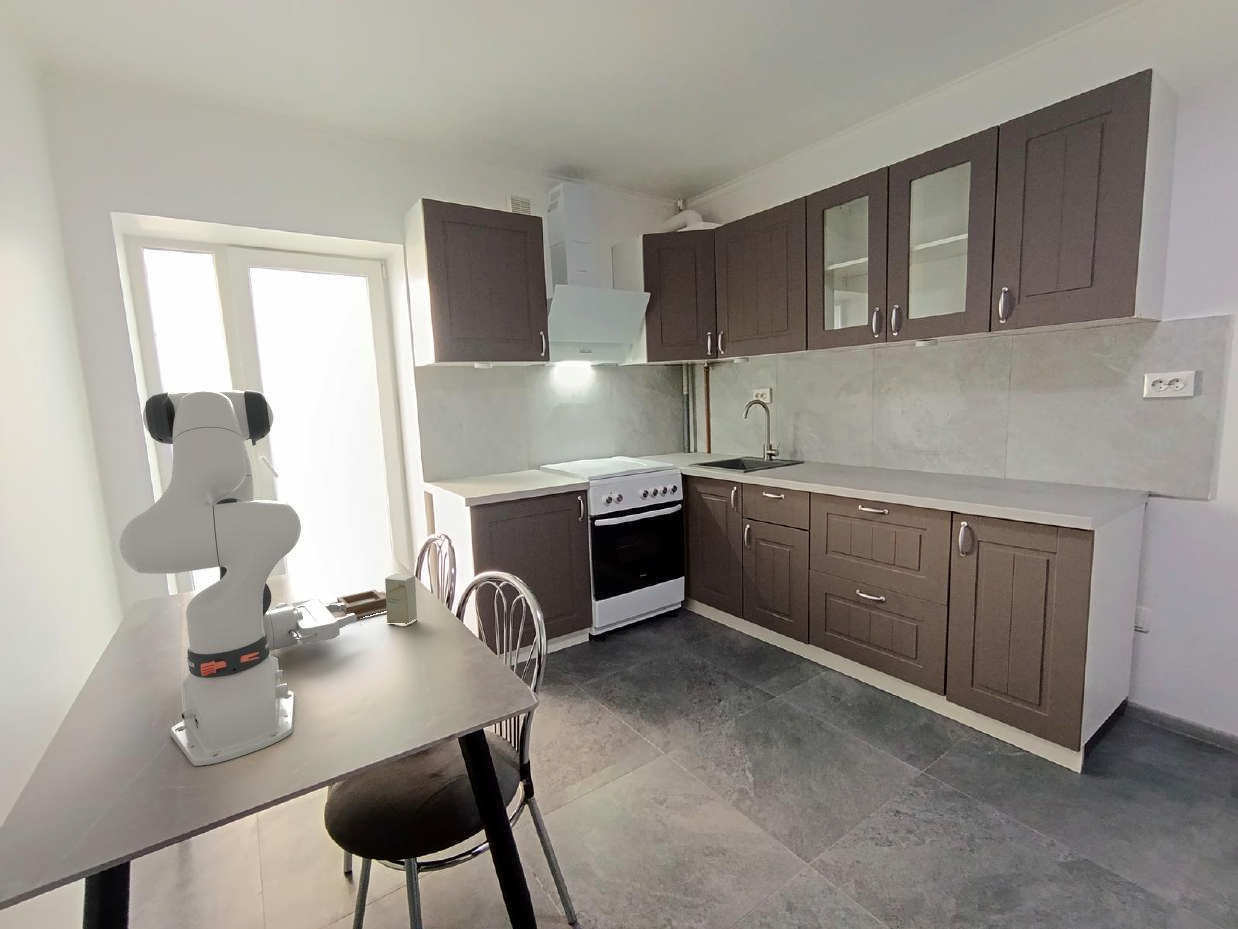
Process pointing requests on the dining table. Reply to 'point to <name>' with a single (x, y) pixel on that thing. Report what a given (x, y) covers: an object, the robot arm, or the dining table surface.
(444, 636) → the dining table surface
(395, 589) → the skincare box
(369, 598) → the brown box holder base
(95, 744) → the dining table surface
